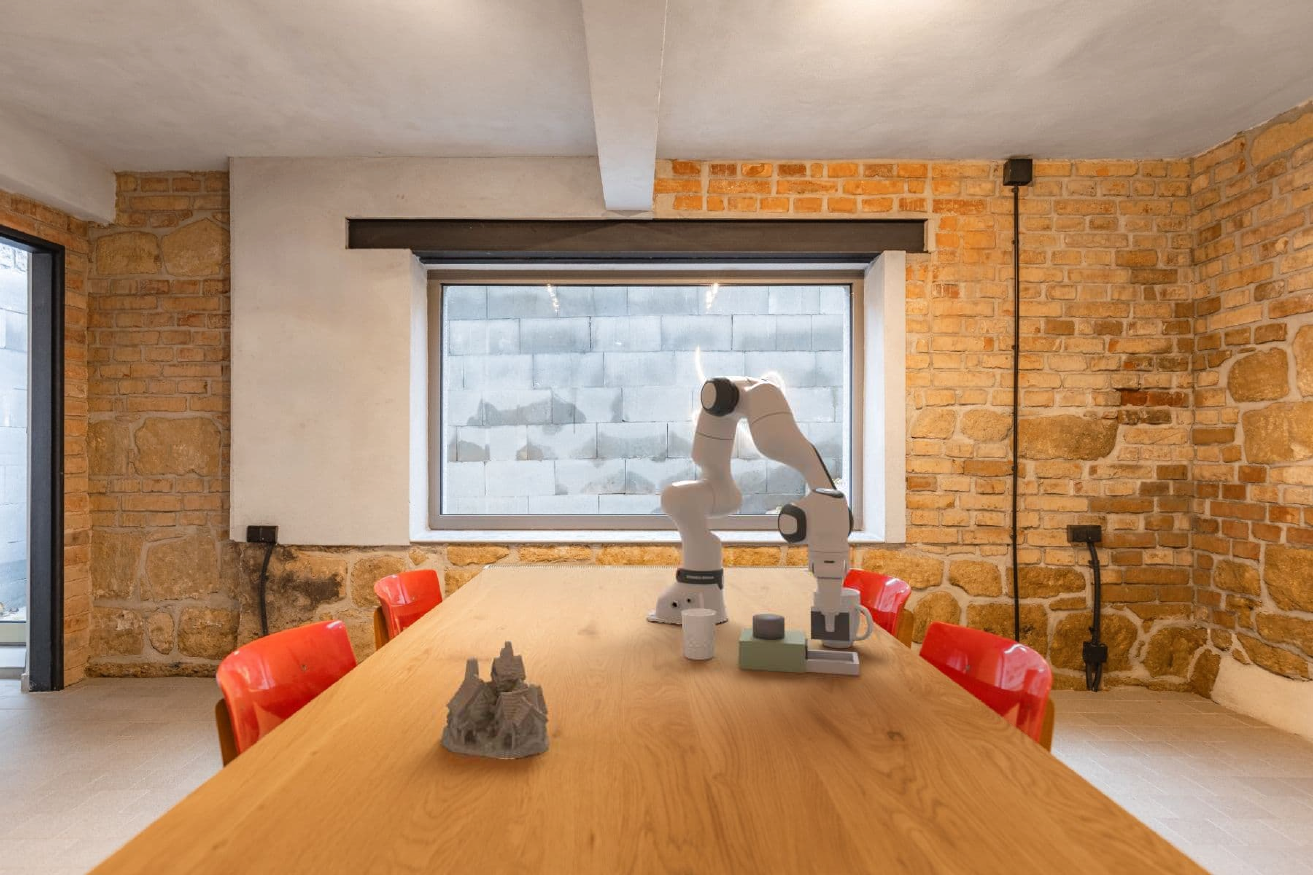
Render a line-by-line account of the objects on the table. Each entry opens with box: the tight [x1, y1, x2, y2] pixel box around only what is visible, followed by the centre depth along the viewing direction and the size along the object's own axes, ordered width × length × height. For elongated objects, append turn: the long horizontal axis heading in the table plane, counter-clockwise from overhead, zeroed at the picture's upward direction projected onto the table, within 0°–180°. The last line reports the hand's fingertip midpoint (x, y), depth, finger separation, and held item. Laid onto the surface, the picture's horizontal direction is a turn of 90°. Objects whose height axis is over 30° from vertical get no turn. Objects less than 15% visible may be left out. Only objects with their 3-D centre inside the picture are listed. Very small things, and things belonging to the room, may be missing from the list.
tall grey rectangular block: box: [810, 605, 850, 641], centre depth 150 cm, size 5×8×6 cm, turn 77°
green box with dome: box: [738, 613, 860, 676], centre depth 151 cm, size 25×11×10 cm, turn 77°
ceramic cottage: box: [440, 640, 550, 759], centre depth 111 cm, size 16×16×15 cm
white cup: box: [681, 608, 717, 661], centre depth 158 cm, size 8×8×10 cm
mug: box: [812, 587, 874, 649], centre depth 166 cm, size 15×11×13 cm
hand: (829, 627), depth 150 cm, fingers closed on tall grey rectangular block, 5 cm apart
